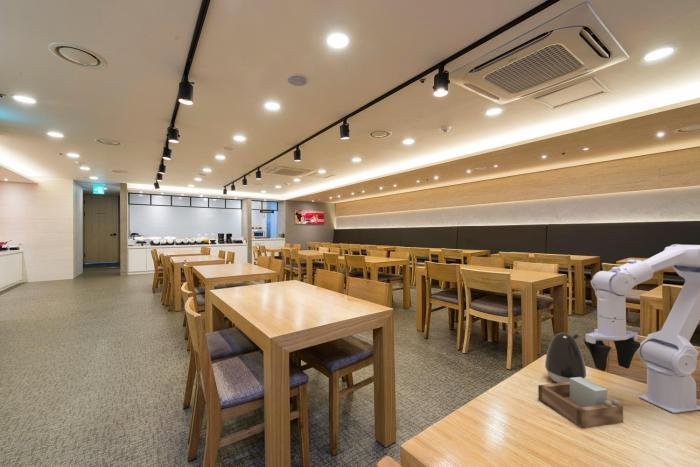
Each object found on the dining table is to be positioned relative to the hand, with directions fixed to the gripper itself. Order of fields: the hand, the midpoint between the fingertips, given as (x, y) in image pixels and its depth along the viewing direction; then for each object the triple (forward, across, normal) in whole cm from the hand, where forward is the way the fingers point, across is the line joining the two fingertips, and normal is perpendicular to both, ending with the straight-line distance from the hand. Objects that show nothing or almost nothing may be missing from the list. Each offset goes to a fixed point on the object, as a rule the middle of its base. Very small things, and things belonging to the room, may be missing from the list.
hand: (612, 368), depth 78 cm
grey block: (+9, +8, 0) cm, 12 cm away
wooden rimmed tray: (+10, +11, 0) cm, 15 cm away
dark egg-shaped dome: (+10, +1, -13) cm, 16 cm away
